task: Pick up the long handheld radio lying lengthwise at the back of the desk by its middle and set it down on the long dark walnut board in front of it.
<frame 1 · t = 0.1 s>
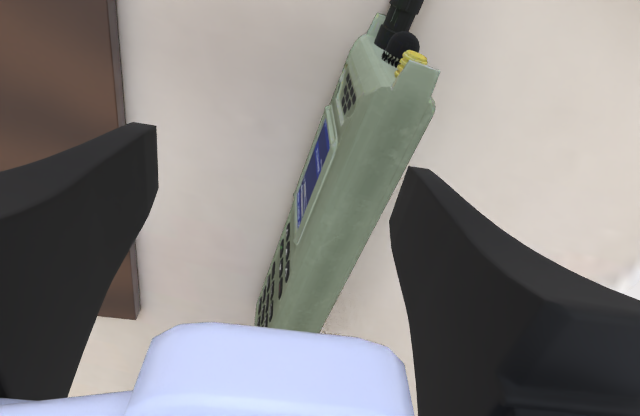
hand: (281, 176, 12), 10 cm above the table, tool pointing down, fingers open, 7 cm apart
handheld radio: (333, 161, 24), on the table
walnut board: (24, 114, 22), on the table
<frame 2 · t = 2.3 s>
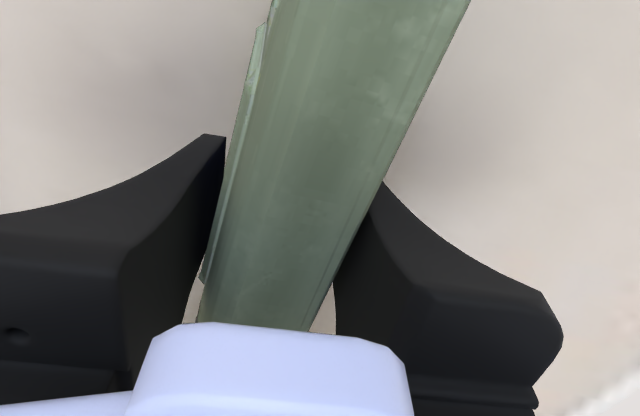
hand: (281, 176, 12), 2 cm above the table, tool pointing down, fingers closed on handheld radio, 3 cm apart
handheld radio: (286, 136, 15), on the table, touching gripper
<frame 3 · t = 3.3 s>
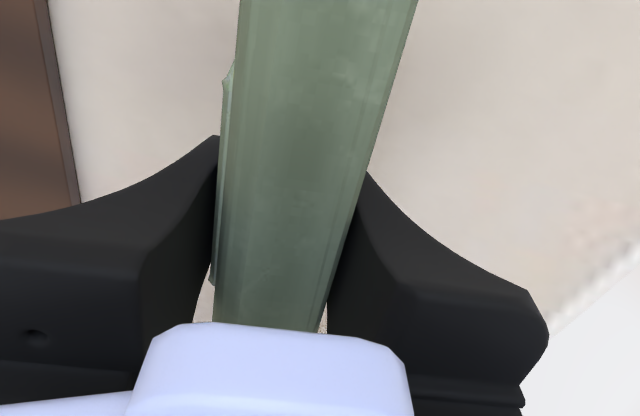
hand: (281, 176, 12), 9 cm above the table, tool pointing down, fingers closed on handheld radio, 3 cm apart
handheld radio: (294, 135, 15), point 6 cm above the table, touching gripper
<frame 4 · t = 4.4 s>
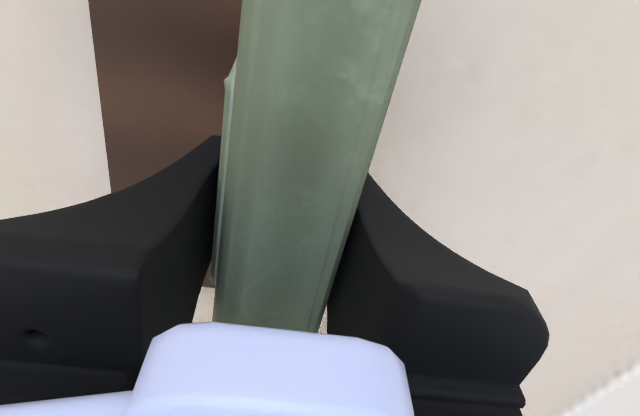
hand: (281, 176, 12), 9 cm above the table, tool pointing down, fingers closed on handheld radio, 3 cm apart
handheld radio: (295, 135, 15), point 7 cm above the table, touching gripper
walnut board: (216, 58, 20), on the table
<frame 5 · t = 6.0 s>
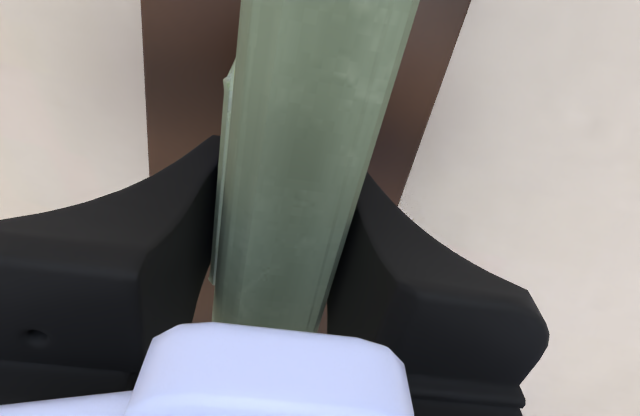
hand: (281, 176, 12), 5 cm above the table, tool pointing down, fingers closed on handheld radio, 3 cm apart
handheld radio: (294, 135, 15), point 2 cm above the table, touching gripper
walnut board: (289, 110, 16), on the table
when the fingers open (3 cm above the table, at t = 6.8 s): handheld radio stays where it is, resting on walnut board.
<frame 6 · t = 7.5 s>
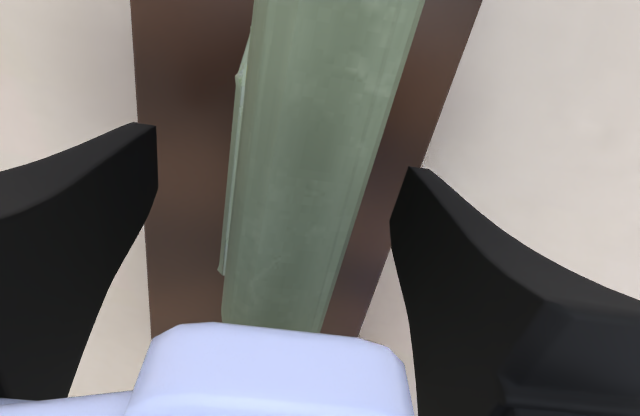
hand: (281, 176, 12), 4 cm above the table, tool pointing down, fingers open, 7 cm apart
handheld radio: (294, 129, 15), point 1 cm above the table, touching walnut board
walnut board: (288, 120, 16), on the table
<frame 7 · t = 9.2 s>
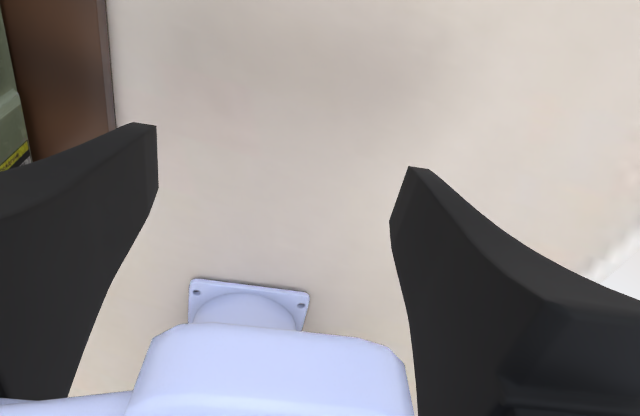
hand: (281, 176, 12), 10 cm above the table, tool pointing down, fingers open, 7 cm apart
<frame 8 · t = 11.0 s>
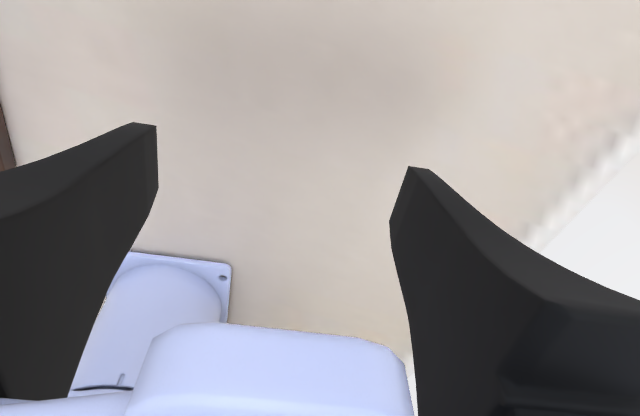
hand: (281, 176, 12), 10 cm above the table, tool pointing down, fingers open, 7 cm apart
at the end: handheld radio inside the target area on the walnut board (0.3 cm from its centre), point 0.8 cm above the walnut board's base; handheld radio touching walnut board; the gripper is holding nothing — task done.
